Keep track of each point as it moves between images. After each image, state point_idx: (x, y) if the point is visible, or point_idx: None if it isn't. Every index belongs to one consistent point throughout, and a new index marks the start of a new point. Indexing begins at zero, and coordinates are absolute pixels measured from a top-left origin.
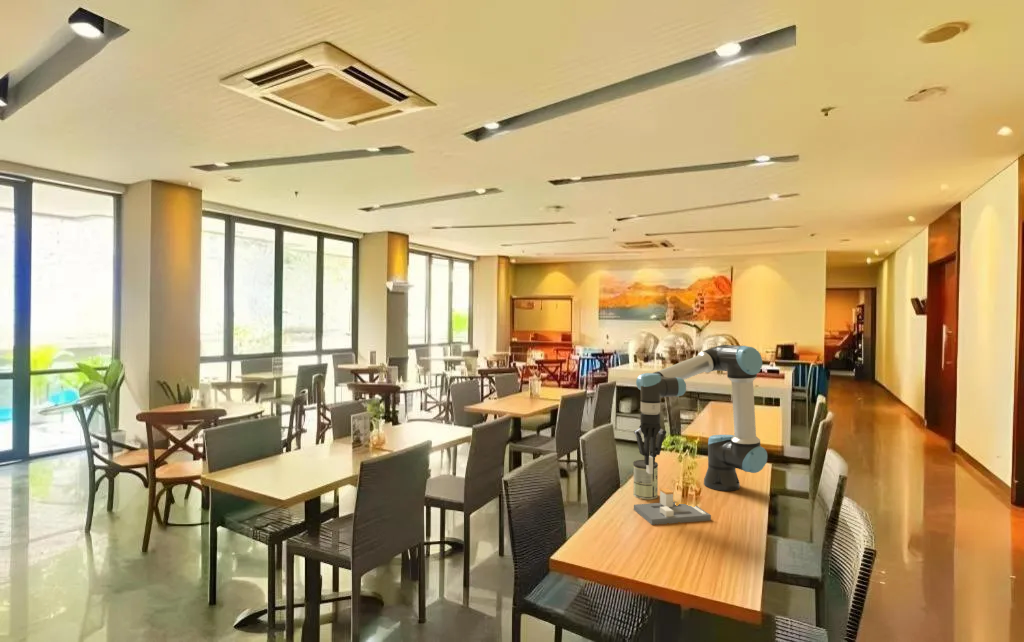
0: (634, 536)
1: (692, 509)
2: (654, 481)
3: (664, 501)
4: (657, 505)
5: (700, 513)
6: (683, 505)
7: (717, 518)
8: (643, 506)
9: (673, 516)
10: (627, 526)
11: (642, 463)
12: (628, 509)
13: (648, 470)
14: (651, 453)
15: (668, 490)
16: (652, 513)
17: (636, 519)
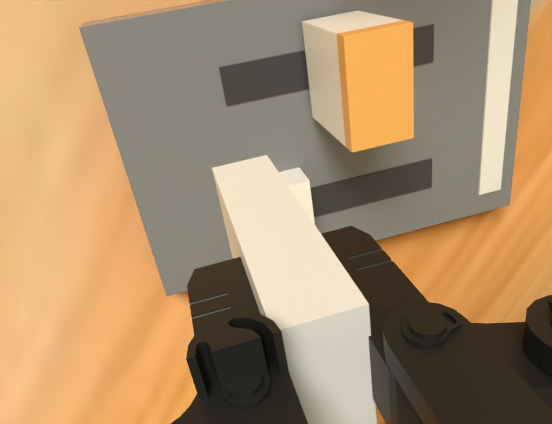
0: (49, 412)
1: (465, 124)
2: None
3: (321, 104)
4: (271, 49)
5: (472, 187)
6: (449, 50)
7: (537, 165)
8: (156, 73)
9: None
10: (16, 312)
11: None
12: (39, 16)
13: (233, 252)
14: (410, 409)
15: (395, 96)
16: (193, 206)
17: (84, 209)
